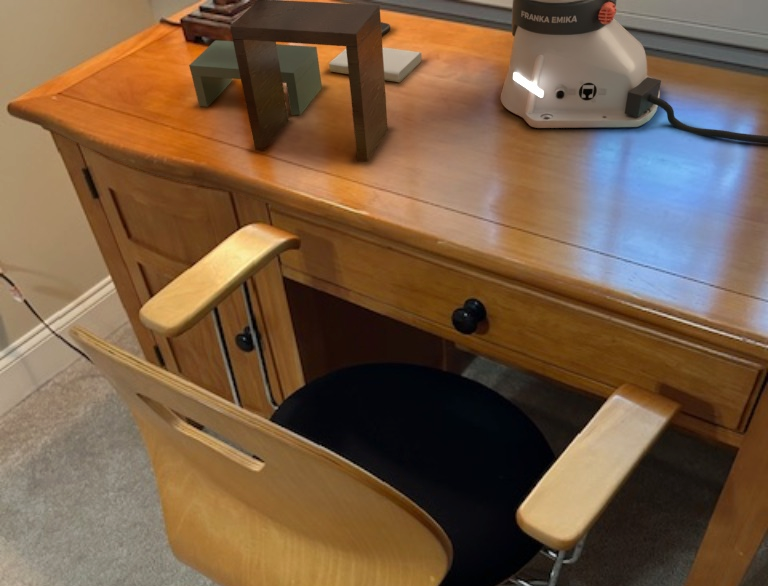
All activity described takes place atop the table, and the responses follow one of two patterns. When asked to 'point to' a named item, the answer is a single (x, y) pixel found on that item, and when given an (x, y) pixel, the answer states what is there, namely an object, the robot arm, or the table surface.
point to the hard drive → (393, 59)
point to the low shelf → (222, 67)
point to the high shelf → (321, 27)
